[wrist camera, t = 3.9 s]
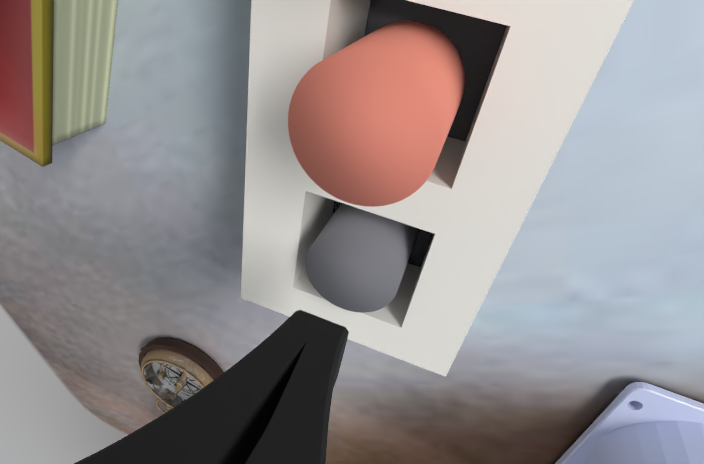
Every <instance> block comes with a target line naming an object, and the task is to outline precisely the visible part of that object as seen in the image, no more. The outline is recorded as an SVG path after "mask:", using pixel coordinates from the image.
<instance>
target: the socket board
mask: <svg viewBox="0 0 704 464" xmlns="http://www.w3.org/2000/svg"><path fill="white" fill-rule="evenodd" d="M370 1H371V0H251V26H250V54H249V82H248V110H247V138H246V166H245V195H244V223H243V251H242V279H241V298H242V299H245V300H248V301H250V302H253V303H255V304H258V305H261V306H263V307H266V308H268V309H271V310H274V311H276V312H279V313H281V314H284V315H286V316H289V317H290V316H291V315H292V314H293V313H294V312H295V311H298V310H302V311H305V312H308V313H310V314H313V315H315V316H318V317H321V318H323V319H326V320H328V321H331V322H333V323H336V324H339V325H341V326H344V327H346V328H347V330H348V331H349V334H348V338H347V339H349V340H351V341H354V342H357V343H359V344H362V345H364V346H367V347H370V348H372V349H375V350H377V351H380V352H383V353H385V354H388V355H390V356H393V357H396V358H398V359H401V360H403V361H406V362H408V363H411V364H414V365H416V366H419V367H421V368H424V369H427V370H429V371H432V372H434V373H437V374H440V375H442V376H445V377H446V375H447V373H448V371H449V369H450V367H451V365H452V363H453V361H454V359H455V357H456V355H457V353H458V351H459V349H460V347H461V345H462V343H463V341H464V339H465V337H466V335H467V333H468V331H469V329H470V327H471V325H472V323H473V321H474V319H475V317H476V315H477V313H478V311H479V309H480V307H481V305H482V303H483V301H484V299H485V297H486V295H487V293H488V291H489V289H490V287H491V285H492V283H493V281H494V279H495V277H496V275H497V273H498V271H499V269H500V267H501V265H502V263H503V261H504V259H505V257H506V255H507V253H508V251H509V249H510V247H511V245H512V243H513V241H514V239H515V237H516V235H517V233H518V231H519V229H520V227H521V225H522V223H523V221H524V219H525V217H526V215H527V213H528V211H529V209H530V207H531V205H532V203H533V201H534V199H535V197H536V195H537V193H538V191H539V189H540V187H541V185H542V183H543V181H544V179H545V177H546V175H547V173H548V171H549V169H550V167H551V165H552V163H553V161H554V159H555V157H556V155H557V153H558V151H559V149H560V147H561V145H562V143H563V141H564V139H565V137H566V135H567V133H568V131H569V129H570V127H571V125H572V123H573V121H574V119H575V117H576V115H577V113H578V111H579V109H580V107H581V105H582V103H583V101H584V99H585V97H586V95H587V93H588V91H589V89H590V87H591V85H592V83H593V81H594V79H595V77H596V75H597V73H598V71H599V69H600V67H601V65H602V63H603V61H604V59H605V57H606V55H607V53H608V51H609V49H610V47H611V45H612V43H613V41H614V39H615V37H616V35H617V33H618V31H619V29H620V27H621V25H622V23H623V21H624V19H625V17H626V15H627V13H628V11H629V9H630V7H631V5H632V3H633V1H634V0H407V1H411V2H415V3H419V4H423V5H427V6H431V7H435V8H439V9H443V10H447V11H451V12H455V13H459V14H463V15H467V16H471V17H475V18H479V19H483V20H487V21H491V22H495V23H499V24H503V25H507V27H506V30H505V33H504V36H503V38H502V41H501V44H500V47H499V50H498V52H497V55H496V58H495V61H494V64H493V66H492V69H491V72H490V75H489V78H488V80H487V83H486V86H485V89H484V92H483V94H482V97H481V100H480V103H479V106H478V108H477V111H476V114H475V117H474V120H473V122H472V125H471V128H470V131H469V134H468V136H467V139H466V142H464V141H461V140H458V139H454V138H451V137H447V138H446V140H445V143H444V145H443V148H442V150H441V153H440V155H439V158H438V160H437V163H436V165H435V168H434V170H433V171H432V173H431V175H430V177H429V178H428V179H427V181H426V182H425V183H424V184H423V185H422V186H421V187H420V188H419V189H418V190H417V191H416V192H415V193H413V194H412V195H410V196H409V197H407V198H405V199H403V200H401V201H399V202H396V203H393V204H389V205H385V206H376V207H370V206H360V205H354V204H351V203H347V202H345V201H342V200H340V199H337V198H336V197H334V196H332V195H330V194H329V193H327V192H326V191H324V190H323V189H321V188H320V187H319V186H318V185H317V184H316V183H315V182H314V181H313V180H312V179H311V178H310V177H309V176H308V175H307V173H306V172H305V171H304V170H303V168H302V166H301V165H300V163H299V162H298V160H297V158H296V155H295V153H294V151H293V148H292V145H291V141H290V137H289V131H288V112H289V106H290V102H291V98H292V95H293V93H294V91H295V89H296V86H297V85H298V83H299V82H300V80H301V79H302V77H303V76H304V75H305V74H306V73H307V72H308V71H309V70H310V69H311V68H312V67H313V66H314V65H316V64H317V63H319V62H320V61H322V60H324V59H325V58H327V57H329V56H331V55H333V54H334V53H336V52H338V51H340V50H342V49H343V48H345V47H347V46H349V45H350V44H352V43H354V42H356V41H358V40H359V39H361V38H363V37H364V34H365V29H366V23H367V18H368V12H369V7H370ZM334 201H338V202H341V203H344V204H347V205H350V206H353V207H356V208H359V209H362V210H365V211H368V212H371V213H374V214H377V215H380V216H383V217H386V218H389V219H392V220H395V221H398V222H401V223H404V224H407V225H410V226H413V227H416V228H419V229H422V230H425V231H428V232H431V233H433V234H432V237H431V240H430V243H429V245H428V248H427V251H426V254H425V257H424V259H423V262H422V265H421V267H418V266H416V265H413V264H410V263H407V266H406V269H405V271H404V274H403V277H402V280H401V282H400V285H399V288H398V291H397V293H396V295H395V297H394V299H393V300H392V301H391V302H390V303H389V304H388V305H387V306H386V307H384V308H382V309H380V310H377V311H373V312H366V313H360V312H353V311H348V310H345V309H342V308H340V307H337V306H335V305H334V304H332V303H330V302H329V301H327V300H326V299H325V298H323V297H322V296H321V295H320V294H319V293H318V292H317V291H316V289H315V288H314V287H313V285H312V284H311V282H310V280H309V278H308V275H307V272H306V267H305V259H306V255H307V252H308V250H309V248H310V247H311V245H312V244H313V242H314V241H315V239H316V238H317V237H318V235H319V234H320V232H321V231H322V230H323V228H324V227H325V225H326V224H327V223H328V221H329V220H330V218H331V217H332V212H333V206H334Z"/></svg>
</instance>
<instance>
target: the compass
mask: <svg viewBox="0 0 704 464" xmlns="http://www.w3.org/2000/svg"><path fill="white" fill-rule="evenodd" d="M139 353H140V354H139V365H140V368H141V372H142V377H143V380H144V382H145V384H146V385H147V387H148V388H149V389H150V391H151V392H152V393H153V394H154V395H155V396H156V397H157V398H158V399H157V400H156V406H157V408H158V409H159V410H160V411H161V412H162V413H163V414H165V413H166V412H165V411H164V410H162V409H161V408H160V406H159V405H158V401H162V402H163V403H165V408H166V409H168V410H169V409H171V408H174V407H176V406H177V405H179V404H180V403H182V402H184V401H185V400H187V399H188V398H189V397H191V396H192V395H194V394H195V393H197V392H198V391H200V390H201V389H202V388H204V387H205V386H207V385H208V384H209V383H211V382H212V381H214V380H215V379H216V378H218V377H219V376H220V375H222V374H223V373H224V372H223V371H222V370H221V368H220V367H219V366H218V365H217V363H216V362H215V361H213V360H212V359H211V358H210V357H209V356H208V355H207V354H205V353H204V352H202V351H201V350H199V349H198V348H196V347H194V346H192V345H190V344H188V343H185V342H183V341H179V340H175V339H168V338H164V339H155V340H153V341H151V342H149V343H148V344H147V345H146V346H145V348H144V347H143V348H142V349H141V350H140V351H139Z"/></svg>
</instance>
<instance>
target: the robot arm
mask: <svg viewBox="0 0 704 464" xmlns="http://www.w3.org/2000/svg"><path fill="white" fill-rule="evenodd" d="M348 334H349V331H348V330H347V328H346V327H344V326H341V325H339V324H336V323H333V322H331V321H328V320H326V319H323V318H321V317H318V316H315V315H313V314H310V313H308V312H305V311H302V310H298V311H295V312H294V313H293V314H292V315H291V316H290V317H289V318H288V319H287V320H286V321H285V322H284V323H283V324H282V325H281V326H280V327H279V328H278V329H277V330H276V331H275V332H273V333H272V334H271V335H270V336H269V337H268V338H267V339H265V340H264V341H263V342H262V343H261V344H260V345H258V346H257V347H256V348H255V349H254V350H252V351H251V352H250V353H249V354H247V355H246V356H245V357H244V358H242V359H241V360H240V361H239V362H238V363H236V364H235V365H234V366H232V367H231V368H230V369H229V370H227V371H226V372H225V373H223V374H222V375H220V376H219V377H218V378H216V379H215V380H214V381H212V382H211V383H209V384H208V385H207V386H205V387H204V388H202V389H201V390H200V391H198V392H197V393H195V394H194V395H192V396H191V397H189V398H188V399H187V400H185V401H184V402H182V403H180V404H179V405H177V406H176V407H174V408H173V409H171V410H170V411H168V412H166V413H165V414H163V415H162V416H160V417H158V418H157V419H155V420H153V421H152V422H150V423H148V424H147V425H145V426H143V427H141V428H140V429H138V430H136V431H135V432H133V433H131V434H129V435H128V436H126V437H124V438H123V439H121V440H119V441H117V442H115V443H113V444H112V445H110V446H108V447H106V448H104V449H102V450H100V451H99V452H97V453H95V454H93V455H91V456H89V457H86V458H84V459H82V460H80V461H78V462H76V463H74V464H325V462H326V446H327V433H328V422H329V413H330V406H331V398H332V391H333V387H334V384H335V382H336V379H337V376H338V372H339V369H340V365H341V361H342V357H343V353H344V349H345V345H346V342H347V338H348ZM631 401H636V402H631ZM555 464H704V404H703V403H701V402H698V401H695V400H692V399H690V398H687V397H684V396H681V395H678V394H676V393H673V392H670V391H667V390H665V389H662V388H659V387H656V386H654V385H651V384H648V383H644V382H634V383H631V384H629V385H628V386H626V387H625V389H624V390H623V391H622V392H621V393H620V394H619V395H618V396H617V397H616V398H615V399H614V400H613V402H612V403H611V404H610V405H609V406H608V407H607V408H606V409H605V410H604V411H603V412H602V413H601V414H600V416H599V417H598V418H597V419H596V420H595V421H594V422H593V423H592V424H591V425H590V426H589V427H588V428H587V430H586V431H585V432H584V433H583V434H582V435H581V436H580V437H579V438H578V439H577V440H576V441H575V443H574V444H573V445H572V446H571V447H570V448H569V449H568V450H567V451H566V452H565V453H564V454H563V455H562V457H561V458H560V459H559V460H558V461H557V462H556V463H555Z"/></svg>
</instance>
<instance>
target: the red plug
mask: <svg viewBox="0 0 704 464" xmlns="http://www.w3.org/2000/svg"><path fill="white" fill-rule="evenodd" d="M464 87H465V74H464V67H463V63H462V60H461V57H460V55H459V53H458V51H457V49H456V47H455V46H454V44H453V43H452V42H451V41H450V39H449V38H448V37H447V36H446V35H445V34H443V33H442V32H441V31H439V30H438V29H436V28H435V27H433V26H431V25H429V24H426V23H423V22H418V21H408V20H405V21H397V22H393V23H390V24H387V25H385V26H383V27H381V28H379V29H377V30H376V31H374V32H372V33H370V34H368V35H367V36H365V37H363V38H361V39H359V40H358V41H356V42H354V43H352V44H350V45H349V46H347V47H345V48H343V49H342V50H340V51H338V52H336V53H334V54H333V55H331V56H329V57H327V58H325V59H324V60H322V61H320V62H319V63H317V64H316V65H314V66H313V67H312V68H311V69H310V70H309V71H308V72H307V73H306V74H305V75H304V76H303V77H302V79H301V80H300V82H299V83H298V85H297V86H296V89H295V91H294V93H293V95H292V98H291V102H290V106H289V112H288V131H289V137H290V141H291V145H292V148H293V151H294V153H295V155H296V158H297V160H298V162H299V163H300V165H301V166H302V168H303V170H304V171H305V172H306V173H307V175H308V176H309V177H310V178H311V179H312V180H313V181H314V182H315V183H316V184H317V185H318V186H319V187H320V188H321V189H323V190H324V191H326V192H327V193H329V194H330V195H332V196H334V197H336V198H337V199H340V200H342V201H345V202H347V203H351V204H354V205H360V206H370V207H376V206H385V205H389V204H393V203H396V202H399V201H401V200H403V199H405V198H407V197H409V196H410V195H412V194H413V193H415V192H416V191H417V190H418V189H419V188H420V187H421V186H422V185H423V184H424V183H425V182H426V181H427V179H428V178H429V177H430V175H431V173H432V171H433V170H434V168H435V165H436V163H437V160H438V158H439V155H440V153H441V150H442V148H443V145H444V143H445V140H446V138H447V135H448V133H449V130H450V128H451V125H452V123H453V120H454V118H455V115H456V113H457V110H458V108H459V105H460V103H461V100H462V97H463V93H464Z"/></svg>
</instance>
